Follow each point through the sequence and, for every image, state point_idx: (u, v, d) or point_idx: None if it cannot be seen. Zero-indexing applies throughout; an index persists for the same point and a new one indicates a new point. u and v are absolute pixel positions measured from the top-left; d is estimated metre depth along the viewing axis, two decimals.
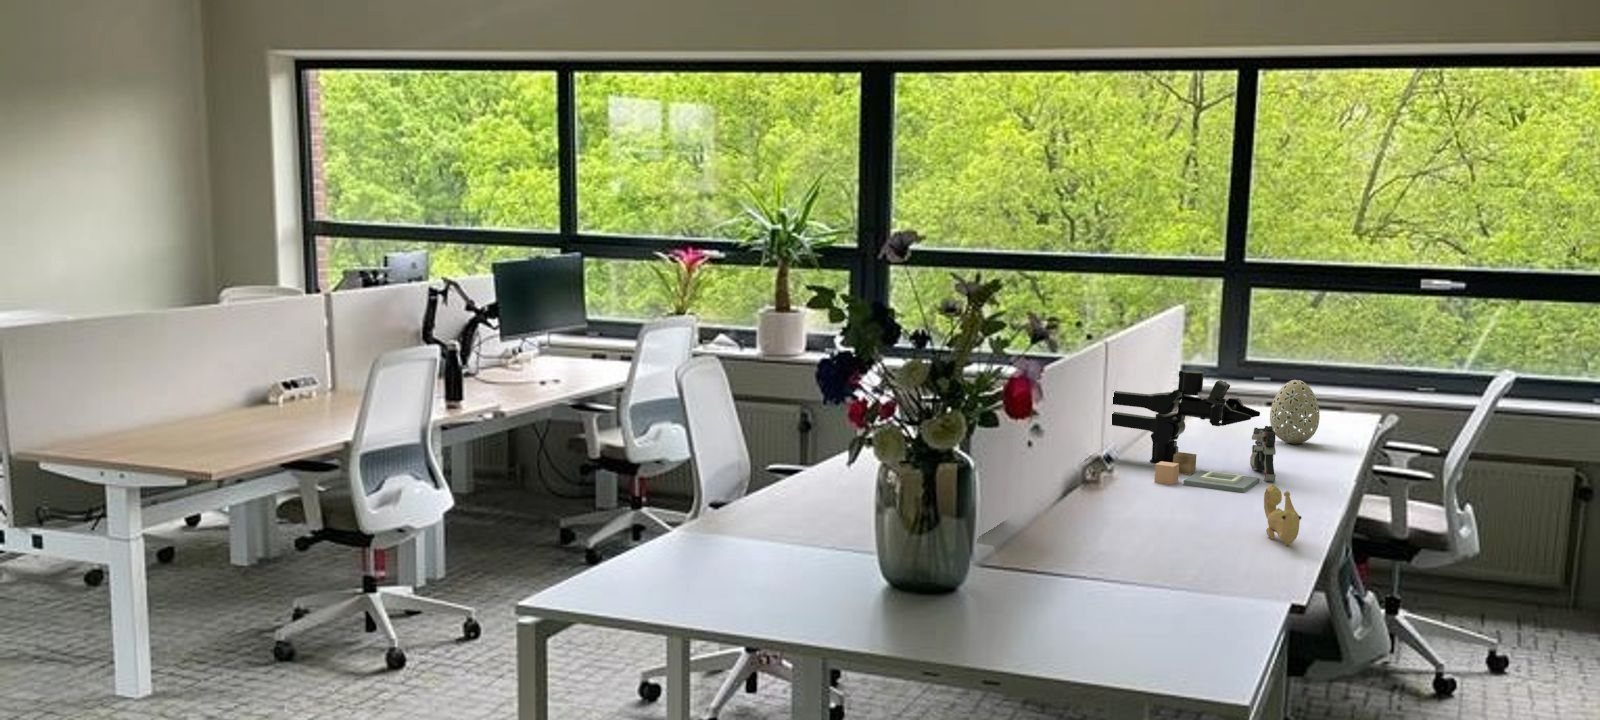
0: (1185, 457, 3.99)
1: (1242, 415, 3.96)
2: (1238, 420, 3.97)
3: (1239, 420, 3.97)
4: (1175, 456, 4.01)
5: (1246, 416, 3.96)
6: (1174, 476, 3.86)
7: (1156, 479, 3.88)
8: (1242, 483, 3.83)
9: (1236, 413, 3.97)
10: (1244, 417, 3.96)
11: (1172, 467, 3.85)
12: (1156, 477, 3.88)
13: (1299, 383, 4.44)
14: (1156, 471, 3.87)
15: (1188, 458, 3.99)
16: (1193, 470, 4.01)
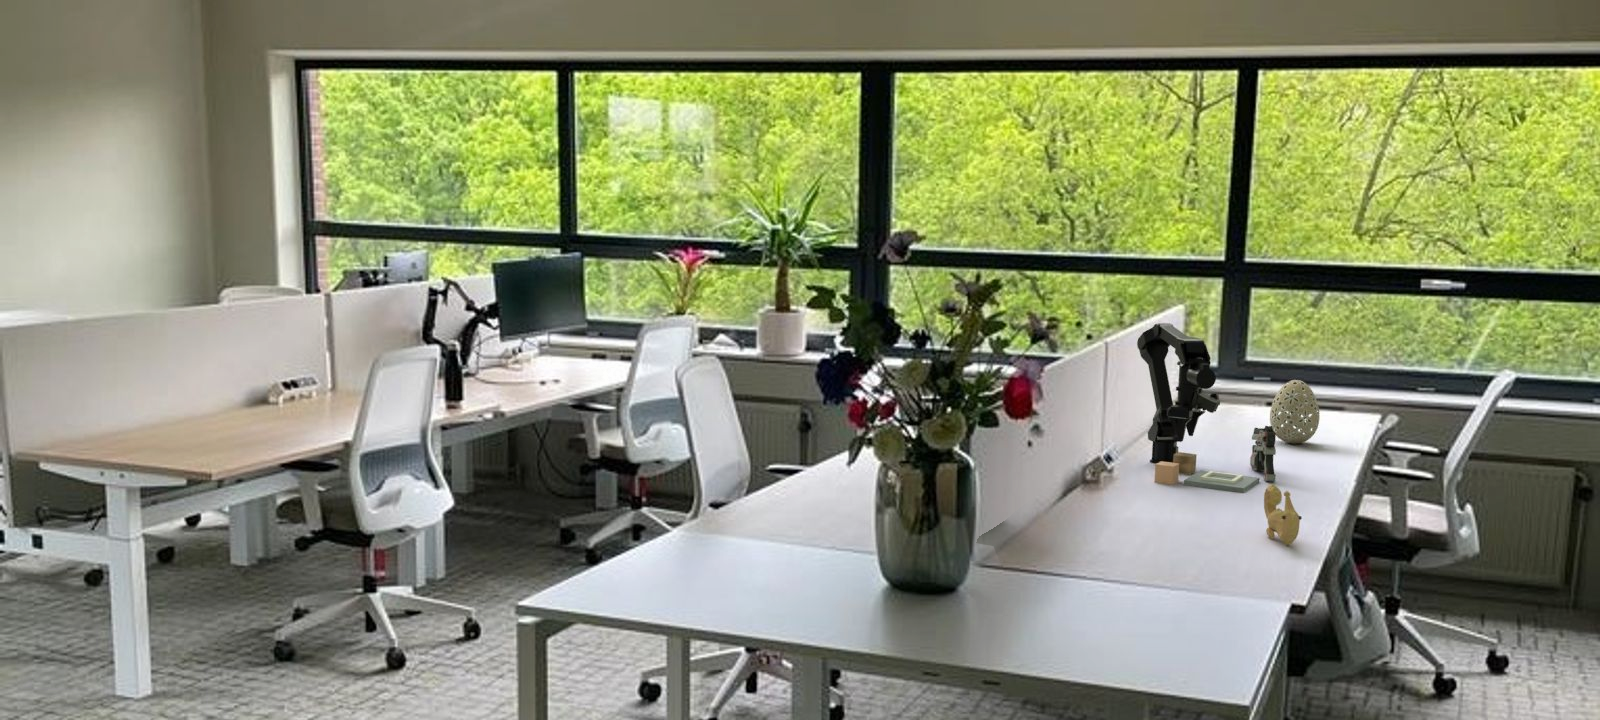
0: (1185, 457, 3.99)
1: (1181, 433, 3.96)
2: (1176, 430, 3.97)
3: (1176, 431, 3.97)
4: (1175, 456, 4.01)
5: (1181, 437, 3.97)
6: (1174, 476, 3.86)
7: (1156, 479, 3.88)
8: (1242, 483, 3.83)
9: (1183, 428, 3.95)
10: (1180, 435, 3.97)
11: (1172, 467, 3.85)
12: (1156, 477, 3.88)
13: (1299, 383, 4.44)
14: (1156, 471, 3.87)
15: (1188, 458, 3.99)
16: (1193, 470, 4.01)
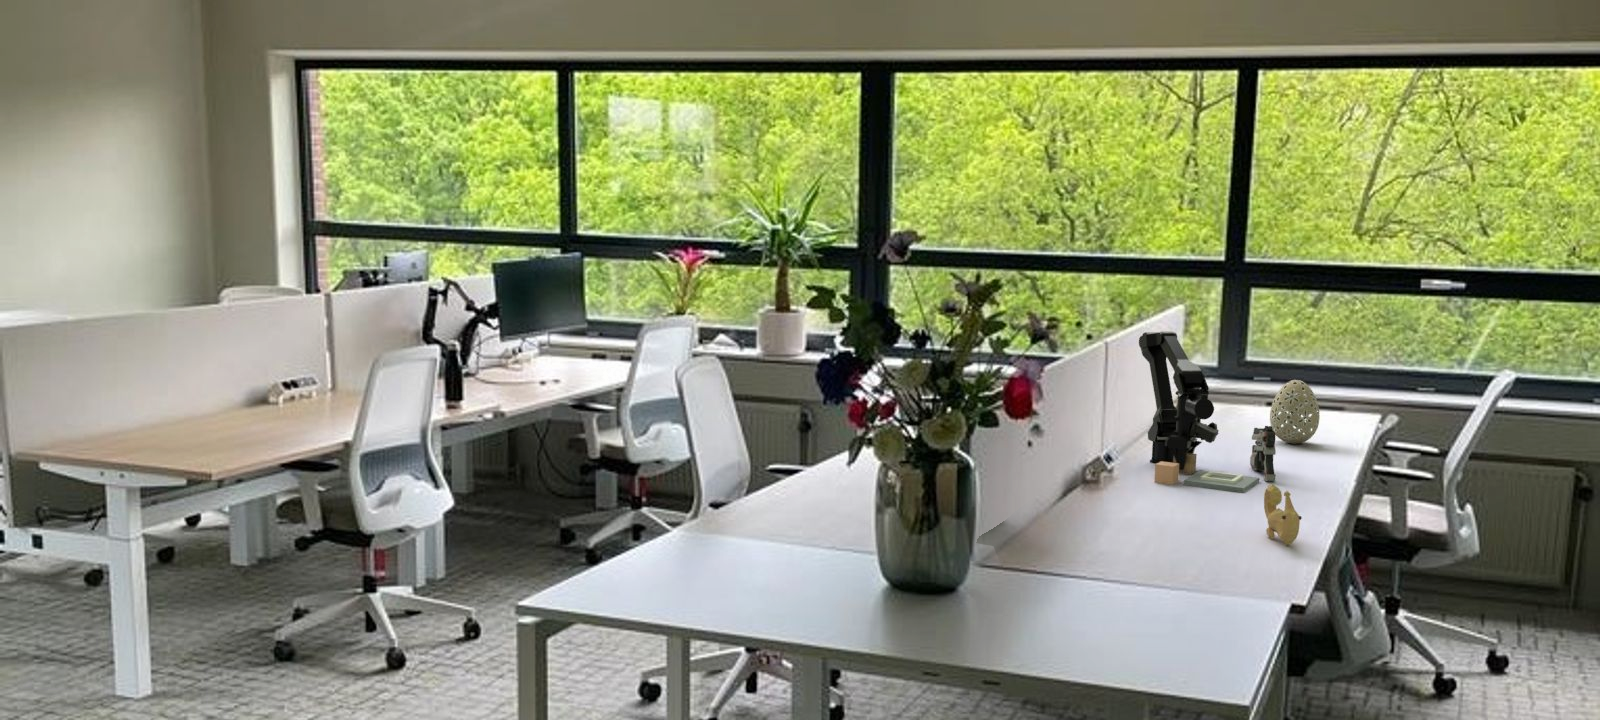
0: None
1: (1182, 462, 3.99)
2: (1176, 459, 3.99)
3: (1177, 460, 3.99)
4: None
5: (1181, 466, 3.99)
6: (1174, 476, 3.86)
7: (1156, 479, 3.88)
8: (1242, 483, 3.83)
9: (1183, 457, 3.98)
10: (1180, 464, 3.99)
11: (1172, 467, 3.85)
12: (1156, 477, 3.88)
13: (1299, 383, 4.44)
14: (1156, 471, 3.87)
15: (1188, 458, 3.99)
16: (1193, 470, 4.01)
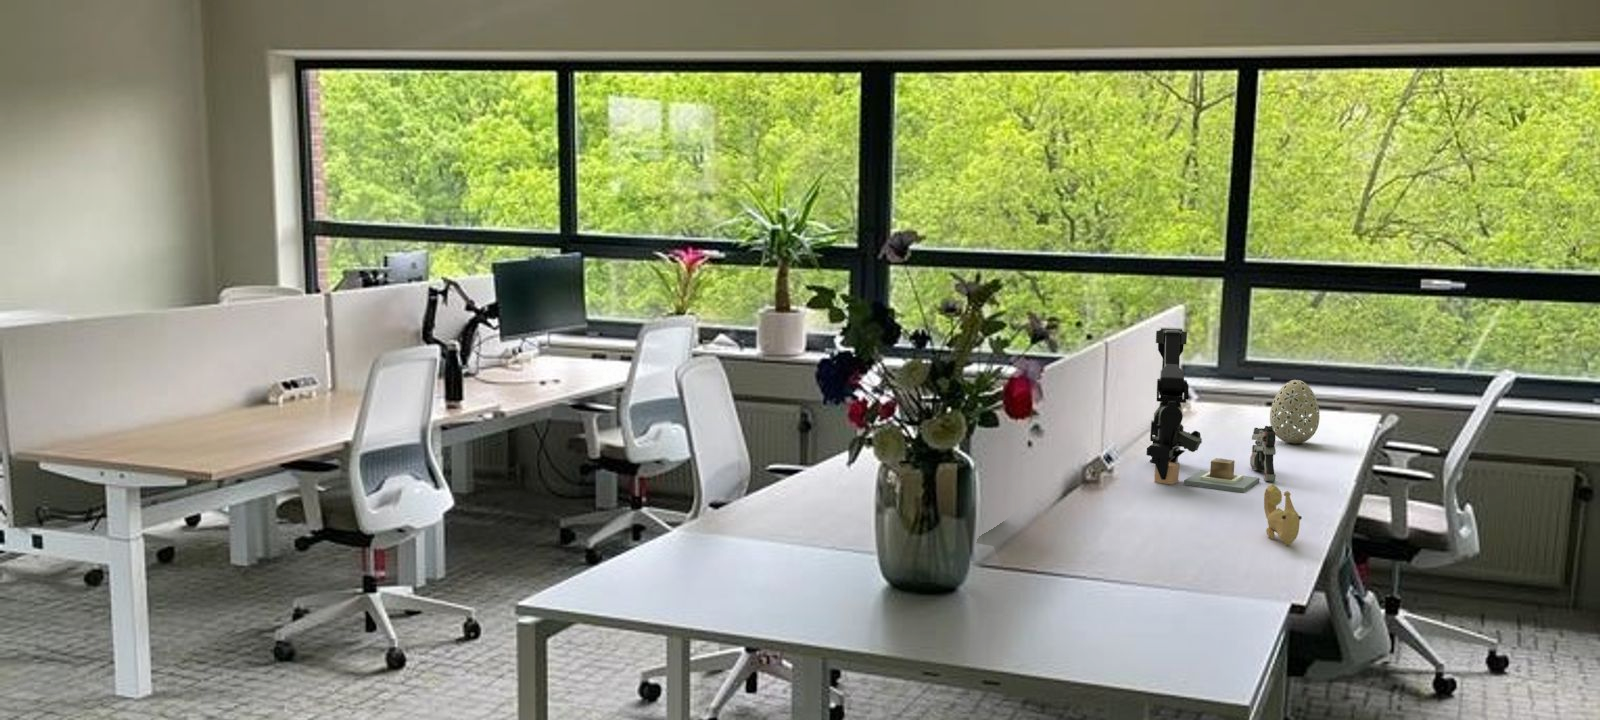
0: (1223, 463, 3.85)
1: (1164, 472, 3.85)
2: (1158, 468, 3.86)
3: (1158, 469, 3.86)
4: (1212, 462, 3.86)
5: (1163, 476, 3.86)
6: (1174, 476, 3.86)
7: (1156, 479, 3.88)
8: (1242, 483, 3.83)
9: (1165, 467, 3.85)
10: (1162, 474, 3.86)
11: (1172, 467, 3.85)
12: (1156, 477, 3.88)
13: (1299, 383, 4.44)
14: (1156, 471, 3.87)
15: (1226, 464, 3.84)
16: (1231, 477, 3.87)
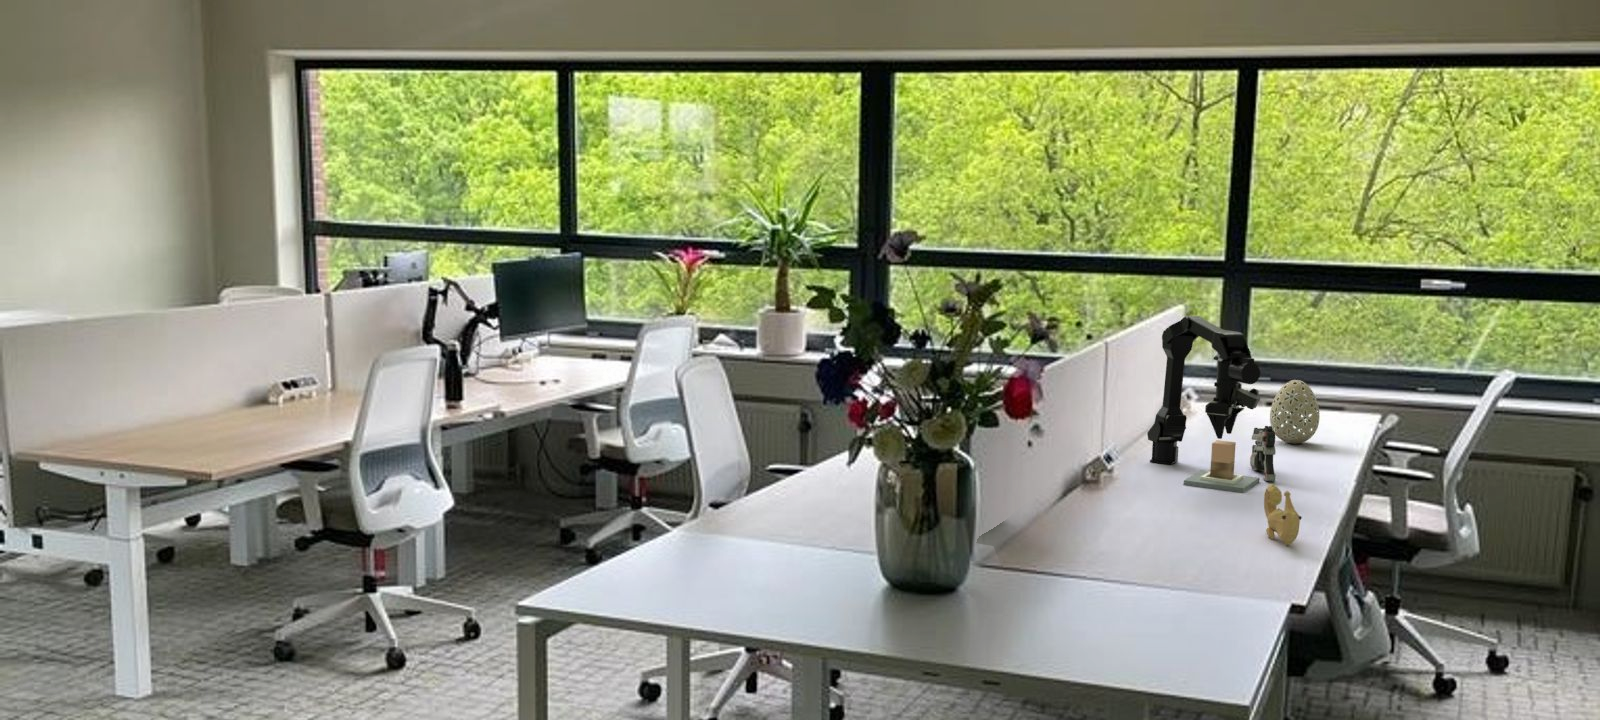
0: (1223, 463, 3.85)
1: (1220, 431, 3.81)
2: (1215, 427, 3.82)
3: (1215, 428, 3.82)
4: (1212, 462, 3.86)
5: (1220, 435, 3.82)
6: (1231, 455, 3.85)
7: (1213, 458, 3.86)
8: (1242, 483, 3.83)
9: (1222, 426, 3.80)
10: (1218, 433, 3.82)
11: (1229, 446, 3.83)
12: (1213, 456, 3.86)
13: (1299, 383, 4.44)
14: (1213, 450, 3.86)
15: (1226, 464, 3.84)
16: (1231, 477, 3.87)
